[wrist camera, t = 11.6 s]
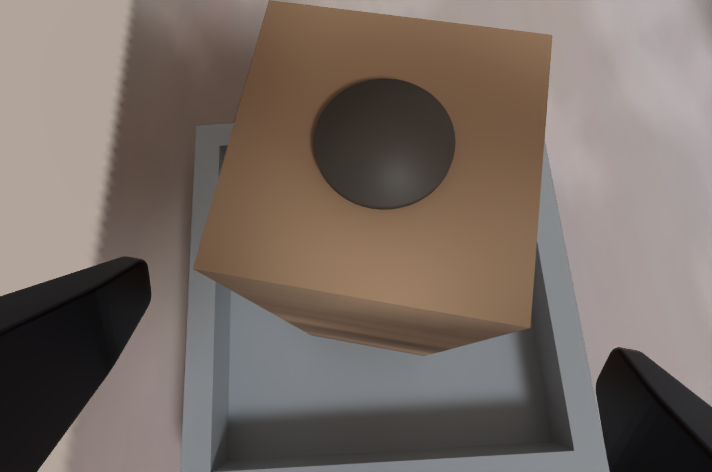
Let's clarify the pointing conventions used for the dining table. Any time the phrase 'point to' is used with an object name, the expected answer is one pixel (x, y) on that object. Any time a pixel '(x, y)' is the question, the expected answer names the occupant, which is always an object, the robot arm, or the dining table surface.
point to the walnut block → (384, 178)
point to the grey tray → (383, 379)
